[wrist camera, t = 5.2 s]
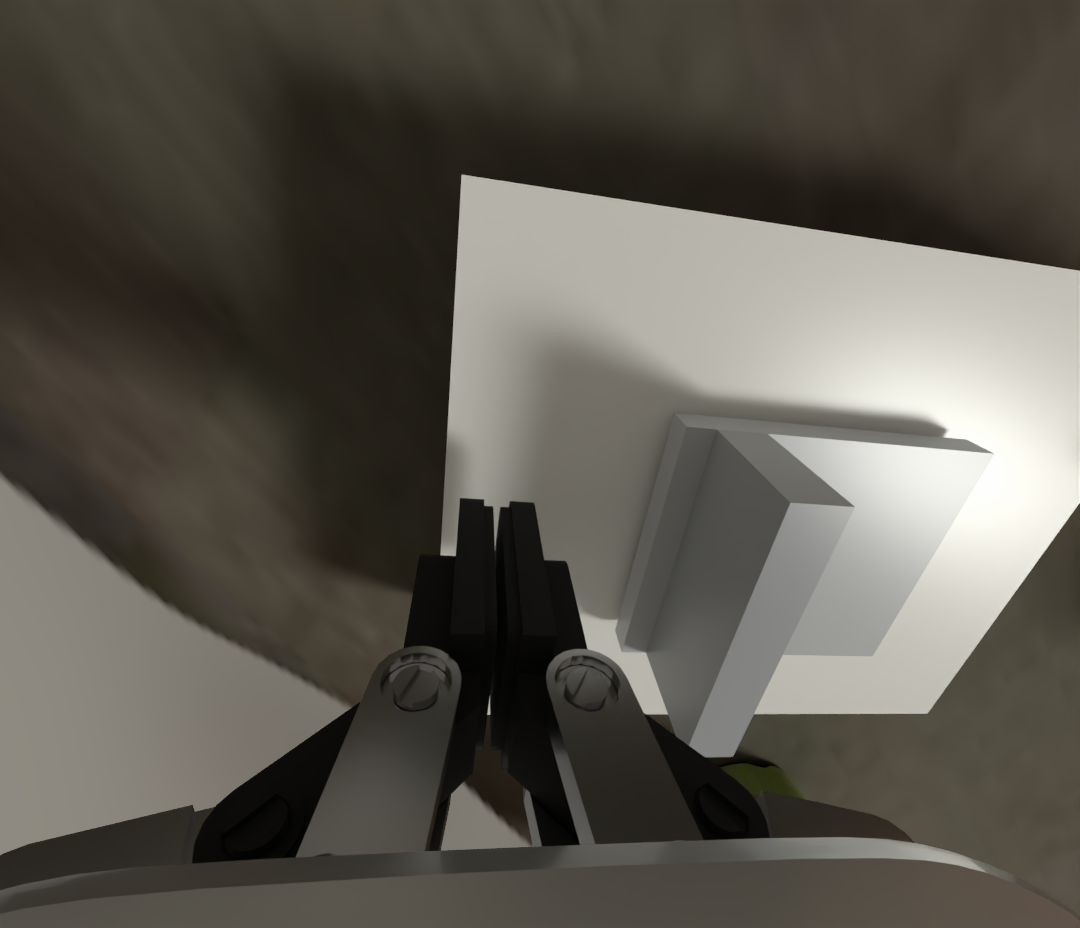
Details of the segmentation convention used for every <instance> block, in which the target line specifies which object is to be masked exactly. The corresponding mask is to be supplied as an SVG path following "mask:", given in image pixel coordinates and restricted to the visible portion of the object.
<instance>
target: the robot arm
mask: <svg viewBox="0 0 1080 928" xmlns="http://www.w3.org/2000/svg"><path fill="white" fill-rule="evenodd" d="M489 698H490V731H491V750H501V759H502V769H508V773H509V774H511V775H512V776H513V777H514V778H515V779H516V780H517V781H518V782H519V783H520V784H521V785H522V786H523V797H524V805H525V809H526V814H527V819H528V824H529V828H530V833H531V838H532V843H533V847H519V848H495V849H473V850H472V849H471V850H448V851H441V846H442V841H443V836H444V830H445V826H446V821H447V815H448V811H449V806H450V798H451V793H453V792H454V791H455V790H456V788H458V787H459V786H460V785H461V784H462V783H463V782H464V781H465V780H466V779H467V778H468V777H469V776H470V775H471V774H472V771H473V763H474V754H475V750H482V749H483V743H484V735H485V728H486V720H487V713H488V705H489ZM0 928H1080V916H1079V915H1078V914H1077V913H1076V912H1074V911H1073V910H1072V909H1070V908H1069V907H1068V906H1066V905H1065V904H1063V903H1062V902H1060V901H1059V900H1057V899H1056V898H1055V897H1053V896H1052V895H1050V894H1048V893H1047V892H1045V891H1043V890H1041V889H1039V888H1038V887H1036V886H1034V885H1032V884H1030V883H1028V882H1026V881H1024V880H1022V879H1020V878H1018V877H1016V876H1014V875H1012V874H1010V873H1008V872H1006V871H1003V870H1001V869H999V868H996V867H993V866H991V865H988V864H985V863H983V862H980V861H977V860H975V859H972V858H969V857H967V856H964V855H961V854H958V853H954V852H951V851H947V850H944V849H940V848H935V847H931V846H927V845H922V844H918V843H915V842H914V841H913V840H912V839H911V838H910V837H909V836H908V835H907V834H906V833H905V832H904V831H902V830H901V829H899V828H898V827H896V826H895V825H894V824H892V823H891V822H889V821H888V820H885V819H883V818H880V817H878V816H875V815H872V814H868V813H864V812H859V811H855V810H850V809H846V808H841V807H837V806H832V805H828V804H823V803H819V802H814V801H810V800H805V799H801V798H796V797H792V796H787V795H783V794H778V793H774V792H769V791H765V790H762V792H761V794H760V795H759V796H757V795H752V794H751V793H750V792H749V791H748V790H747V789H746V788H745V787H744V786H742V785H741V784H740V783H739V782H738V781H737V780H736V779H734V778H733V777H732V776H730V775H729V774H727V773H726V772H725V771H723V770H722V769H721V768H719V767H718V766H716V765H715V764H714V763H712V762H711V761H709V760H708V759H707V758H705V757H704V756H703V755H701V754H700V753H698V752H697V751H696V750H694V749H693V748H692V747H690V746H689V745H687V744H686V743H685V742H683V741H682V740H680V739H679V738H678V737H676V736H675V735H674V734H672V733H671V732H669V731H668V730H667V729H665V728H664V727H663V726H661V725H660V724H658V723H657V722H656V721H654V720H653V719H652V718H650V717H649V716H647V715H646V714H645V713H643V710H642V708H641V706H640V704H639V702H638V700H637V698H636V696H635V694H634V691H633V689H632V687H631V685H630V683H629V681H628V679H627V677H626V675H625V674H624V672H623V671H622V669H621V668H620V666H618V665H617V664H616V663H615V662H614V661H613V660H612V659H611V658H609V657H607V656H605V655H603V654H601V653H599V652H596V651H592V650H589V649H587V645H586V641H585V636H584V632H583V628H582V623H581V619H580V615H579V610H578V606H577V602H576V598H575V593H574V589H573V585H572V580H571V576H570V572H569V567H568V564H567V562H566V561H556V560H544V556H543V550H542V544H541V538H540V532H539V526H538V520H537V515H536V509H535V504H534V503H533V502H518V501H510V503H509V507H500V512H499V520H498V529H497V537H496V546H495V541H494V514H493V506H484V499H469V498H460V505H459V518H458V532H457V545H456V556H444V555H422V554H420V557H419V562H418V568H417V574H416V579H415V585H414V591H413V597H412V603H411V608H410V614H409V620H408V626H407V632H406V637H405V643H404V648H403V649H400V650H398V651H396V652H394V653H392V654H390V655H388V656H387V657H386V658H385V659H384V660H382V661H381V662H380V663H379V664H378V666H377V667H376V669H375V670H374V672H373V674H372V676H371V678H370V680H369V683H368V685H367V687H366V690H365V692H364V695H363V697H362V699H361V702H359V703H358V704H357V705H355V706H354V707H352V708H351V709H349V710H348V711H347V712H345V713H344V714H343V715H341V716H339V717H338V718H337V719H335V720H334V721H332V722H331V723H330V724H328V725H327V726H325V727H324V728H322V729H321V730H320V731H318V732H317V733H315V734H314V735H312V736H311V737H310V738H308V739H307V740H305V741H304V742H302V743H301V744H299V745H298V746H297V747H295V748H294V749H292V750H291V751H289V752H288V753H287V754H285V755H284V756H283V757H281V758H280V759H278V760H277V761H275V762H274V763H273V764H271V765H269V766H268V767H267V768H265V769H264V770H262V771H261V772H260V773H258V774H257V775H255V776H254V777H253V778H251V779H250V780H248V781H247V782H245V783H244V784H242V785H241V786H239V787H238V788H237V789H235V790H234V791H233V792H231V793H230V794H229V795H228V796H227V797H226V798H224V799H223V800H222V801H221V802H220V803H219V804H217V805H216V807H213V808H209V809H204V810H200V811H197V812H195V811H194V808H193V805H190V806H186V807H182V808H178V809H173V810H169V811H165V812H161V813H157V814H152V815H148V816H144V817H140V818H136V819H132V820H127V821H123V822H119V823H115V824H111V825H107V826H102V827H98V828H95V829H90V830H86V831H82V832H77V833H74V834H69V835H65V836H61V837H57V838H52V839H48V840H44V841H40V842H36V843H31V844H28V845H25V846H23V847H20V848H17V849H14V850H12V851H9V852H7V853H4V854H2V855H0Z"/></svg>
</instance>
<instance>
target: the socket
mask: <svg viewBox="0 0 1080 928" xmlns="http://www.w3.org/2000/svg"><path fill="white" fill-rule="evenodd" d="M674 413H683V414H694V415H705V416H716V417H727V418H737V419H748V420H759V421H770V422H781V423H792V424H803V425H814V426H825V427H836V428H847V429H858V430H868V431H879V432H890V433H901V434H912V435H923V436H934V437H945V438H956V439H967V440H969V441H971V442H973V443H974V444H976V445H978V446H980V447H982V448H984V449H986V450H988V451H990V452H992V453H994V456H993V457H992V459H991V461H990V462H989V464H988V466H987V467H986V469H985V471H984V472H983V474H982V476H981V477H980V479H979V481H978V482H977V484H976V485H975V487H974V489H973V490H972V492H971V494H970V495H969V497H968V499H967V500H966V502H965V504H964V505H963V507H962V509H961V510H960V512H959V514H958V515H957V517H956V519H955V520H954V522H953V524H952V525H951V527H950V529H949V530H948V532H947V534H946V535H945V537H944V539H943V540H942V542H941V544H940V545H939V547H938V549H937V550H936V552H935V554H934V555H933V557H932V559H931V560H930V562H929V564H928V565H927V567H926V569H925V570H924V572H923V573H922V575H921V577H920V578H919V580H918V582H917V583H916V585H915V587H914V588H913V590H912V592H911V593H910V595H909V597H908V598H907V600H906V602H905V603H904V605H903V607H902V608H901V610H900V612H899V613H898V615H897V617H896V618H895V620H894V622H893V623H892V625H891V627H890V628H889V630H888V632H887V633H886V635H885V637H884V638H883V640H882V642H881V643H880V645H879V647H878V648H877V650H876V652H875V653H874V655H873V656H819V655H782V657H781V660H780V662H779V664H778V666H777V668H776V670H775V672H774V674H773V676H772V678H771V680H770V682H769V684H768V686H767V688H766V690H765V692H764V694H763V696H762V698H761V700H760V702H759V704H758V707H757V709H756V711H755V713H754V714H927V713H928V712H929V711H930V709H931V708H932V707H933V705H934V704H935V702H936V701H937V700H938V698H939V697H940V695H941V694H942V693H943V691H944V690H945V689H946V687H947V686H948V684H949V683H950V682H951V680H952V679H953V677H954V676H955V675H956V673H957V672H958V671H959V669H960V668H961V666H962V665H963V664H964V662H965V661H966V659H967V658H968V657H969V655H970V654H971V653H972V651H973V650H974V648H975V647H976V646H977V644H978V643H979V641H980V640H981V639H982V637H983V636H984V635H985V633H986V632H987V630H988V629H989V628H990V626H991V625H992V623H993V622H994V621H995V619H996V618H997V617H998V615H999V614H1000V612H1001V611H1002V610H1003V608H1004V607H1005V605H1006V604H1007V603H1008V601H1009V600H1010V599H1011V597H1012V596H1013V594H1014V593H1015V592H1016V590H1017V589H1018V587H1019V586H1020V585H1021V583H1022V582H1023V581H1024V579H1025V578H1026V576H1027V575H1028V574H1029V572H1030V571H1031V569H1032V568H1033V567H1034V565H1035V564H1036V563H1037V561H1038V560H1039V558H1040V557H1041V556H1042V554H1043V553H1044V551H1045V550H1046V549H1047V547H1048V546H1049V545H1050V543H1051V542H1052V540H1053V539H1054V538H1055V536H1056V535H1057V533H1058V532H1059V531H1060V529H1061V528H1062V527H1063V525H1064V524H1065V522H1066V521H1067V520H1068V518H1069V517H1070V515H1071V514H1072V513H1073V511H1074V510H1075V509H1076V507H1077V506H1078V504H1079V503H1080V271H1077V270H1071V269H1065V268H1058V267H1052V266H1045V265H1039V264H1033V263H1026V262H1020V261H1013V260H1007V259H1000V258H994V257H988V256H981V255H975V254H968V253H962V252H956V251H949V250H943V249H936V248H930V247H923V246H917V245H911V244H904V243H898V242H891V241H885V240H879V239H872V238H866V237H859V236H853V235H846V234H840V233H834V232H827V231H821V230H814V229H808V228H801V227H795V226H789V225H782V224H776V223H769V222H763V221H757V220H750V219H744V218H737V217H731V216H724V215H718V214H712V213H705V212H699V211H692V210H686V209H680V208H673V207H667V206H660V205H654V204H647V203H641V202H635V201H628V200H622V199H615V198H609V197H603V196H596V195H590V194H583V193H577V192H570V191H564V190H558V189H551V188H545V187H538V186H532V185H526V184H519V183H513V182H506V181H500V180H493V179H487V178H481V177H474V176H468V175H462V176H461V194H460V212H459V230H458V248H457V266H456V284H455V302H454V320H453V338H452V356H451V374H450V392H449V410H448V428H447V446H446V464H445V482H444V500H443V518H442V536H441V554H440V555H444V556H456V545H457V532H458V518H459V505H460V498H469V499H484V506H493V514H494V541H495V546H496V537H497V529H498V520H499V512H500V507H509V503H510V501H518V502H533V503H534V504H535V509H536V515H537V520H538V526H539V532H540V538H541V544H542V550H543V556H544V560H556V561H566V562H567V564H568V567H569V572H570V576H571V580H572V585H573V589H574V593H575V598H576V602H577V606H578V610H579V615H580V619H581V623H582V628H583V632H584V636H585V641H586V645H587V649H589V650H592V651H596V652H599V653H601V654H603V655H605V656H607V657H609V658H611V659H612V660H613V661H614V662H615V663H616V664H617V665H618V666H620V668H621V669H622V671H623V672H624V674H625V675H626V677H627V679H628V681H629V683H630V685H631V687H632V689H633V691H634V694H635V696H636V698H637V700H638V702H639V704H640V706H641V708H642V710H643V713H645V714H668V713H667V710H666V707H665V704H664V702H663V699H662V696H661V693H660V691H659V688H658V685H657V682H656V679H655V677H654V674H653V671H652V668H651V665H650V663H649V660H648V657H647V654H646V653H636V652H621V648H620V645H619V642H618V639H617V635H616V632H615V629H616V625H617V621H618V618H619V614H620V610H621V607H622V603H623V599H624V596H625V592H626V588H627V585H628V581H629V577H630V574H631V570H632V566H633V562H634V559H635V555H636V551H637V548H638V544H639V540H640V537H641V533H642V529H643V526H644V522H645V518H646V515H647V511H648V507H649V504H650V500H651V496H652V493H653V489H654V485H655V482H656V478H657V474H658V471H659V467H660V463H661V459H662V456H663V452H664V448H665V445H666V441H667V437H668V434H669V430H670V426H671V423H672V419H673V415H674ZM487 715H490V698H489V705H488V713H487Z"/></svg>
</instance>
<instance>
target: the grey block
mask: <svg viewBox="0 0 1080 928" xmlns="http://www.w3.org/2000/svg"><path fill="white" fill-rule="evenodd" d="M993 456H994V453H992V452H990V451H988V450H986V449H984V448H982V447H980V446H978V445H976V444H974V443H973V442H971V441H969V440H967V439H956V438H945V437H934V436H923V435H912V434H901V433H890V432H879V431H868V430H858V429H847V428H836V427H825V426H814V425H803V424H792V423H781V422H770V421H759V420H748V419H737V418H727V417H716V416H705V415H694V414H683V413H674V415H673V419H672V423H671V426H670V430H669V434H668V437H667V441H666V445H665V448H664V452H663V456H662V459H661V463H660V467H659V471H658V474H657V478H656V482H655V485H654V489H653V493H652V496H651V500H650V504H649V507H648V511H647V515H646V518H645V522H644V526H643V529H642V533H641V537H640V540H639V544H638V548H637V551H636V555H635V559H634V562H633V566H632V570H631V574H630V577H629V581H628V585H627V588H626V592H625V596H624V599H623V603H622V607H621V610H620V614H619V618H618V621H617V625H616V629H615V632H616V635H617V639H618V642H619V645H620V648H621V652H636V653H646V654H647V657H648V660H649V663H650V665H651V668H652V671H653V674H654V677H655V679H656V682H657V685H658V688H659V691H660V693H661V696H662V699H663V702H664V704H665V707H666V710H667V713H668V716H669V718H670V721H671V724H672V727H673V730H674V732H675V735H676V737H678V738H679V739H680V740H682V741H683V742H685V743H686V744H687V745H689V746H690V747H692V748H693V749H694V750H696V751H697V752H698V753H700V754H701V755H703V756H704V757H733V756H734V754H735V751H736V749H737V747H738V745H739V743H740V741H741V739H742V737H743V735H744V733H745V731H746V729H747V727H748V725H749V723H750V721H751V719H752V717H753V715H754V713H755V711H756V709H757V707H758V704H759V702H760V700H761V698H762V696H763V694H764V692H765V690H766V688H767V686H768V684H769V682H770V680H771V678H772V676H773V674H774V672H775V670H776V668H777V666H778V664H779V662H780V660H781V657H782V655H819V656H873V655H874V653H875V652H876V650H877V648H878V647H879V645H880V643H881V642H882V640H883V638H884V637H885V635H886V633H887V632H888V630H889V628H890V627H891V625H892V623H893V622H894V620H895V618H896V617H897V615H898V613H899V612H900V610H901V608H902V607H903V605H904V603H905V602H906V600H907V598H908V597H909V595H910V593H911V592H912V590H913V588H914V587H915V585H916V583H917V582H918V580H919V578H920V577H921V575H922V573H923V572H924V570H925V569H926V567H927V565H928V564H929V562H930V560H931V559H932V557H933V555H934V554H935V552H936V550H937V549H938V547H939V545H940V544H941V542H942V540H943V539H944V537H945V535H946V534H947V532H948V530H949V529H950V527H951V525H952V524H953V522H954V520H955V519H956V517H957V515H958V514H959V512H960V510H961V509H962V507H963V505H964V504H965V502H966V500H967V499H968V497H969V495H970V494H971V492H972V490H973V489H974V487H975V485H976V484H977V482H978V481H979V479H980V477H981V476H982V474H983V472H984V471H985V469H986V467H987V466H988V464H989V462H990V461H991V459H992V457H993Z"/></svg>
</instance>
